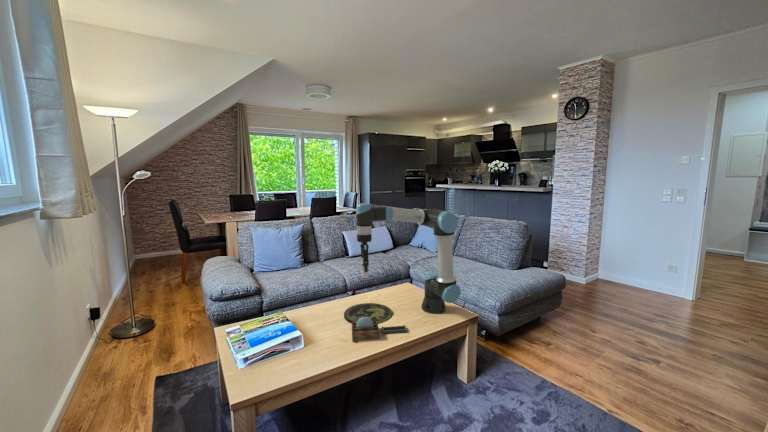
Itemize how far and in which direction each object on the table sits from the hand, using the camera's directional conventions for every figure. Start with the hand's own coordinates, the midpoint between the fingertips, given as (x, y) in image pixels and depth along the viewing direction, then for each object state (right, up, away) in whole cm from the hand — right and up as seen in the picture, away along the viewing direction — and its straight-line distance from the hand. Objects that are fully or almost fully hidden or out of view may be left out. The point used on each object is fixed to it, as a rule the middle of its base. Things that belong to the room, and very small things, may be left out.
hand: (364, 273), depth 169 cm
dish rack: (0, -34, +4) cm, 34 cm away
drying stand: (+16, -33, +8) cm, 38 cm away
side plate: (0, -33, +4) cm, 33 cm away
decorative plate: (0, -31, +30) cm, 43 cm away
